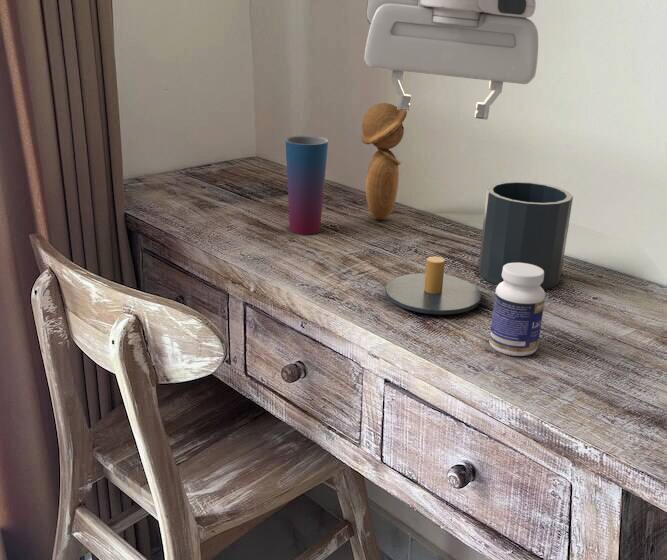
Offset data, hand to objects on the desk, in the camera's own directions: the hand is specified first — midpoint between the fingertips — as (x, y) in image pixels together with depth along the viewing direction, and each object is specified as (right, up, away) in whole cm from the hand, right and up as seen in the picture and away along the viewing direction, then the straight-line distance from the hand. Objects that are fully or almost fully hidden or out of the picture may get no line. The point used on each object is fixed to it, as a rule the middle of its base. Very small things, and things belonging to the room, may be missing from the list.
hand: (441, 114), depth 99 cm
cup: (-18, -12, +36) cm, 42 cm away
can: (+14, -19, +20) cm, 31 cm away
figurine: (-5, -10, +43) cm, 44 cm away
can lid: (0, -22, +11) cm, 25 cm away
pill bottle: (+8, -28, -2) cm, 29 cm away
